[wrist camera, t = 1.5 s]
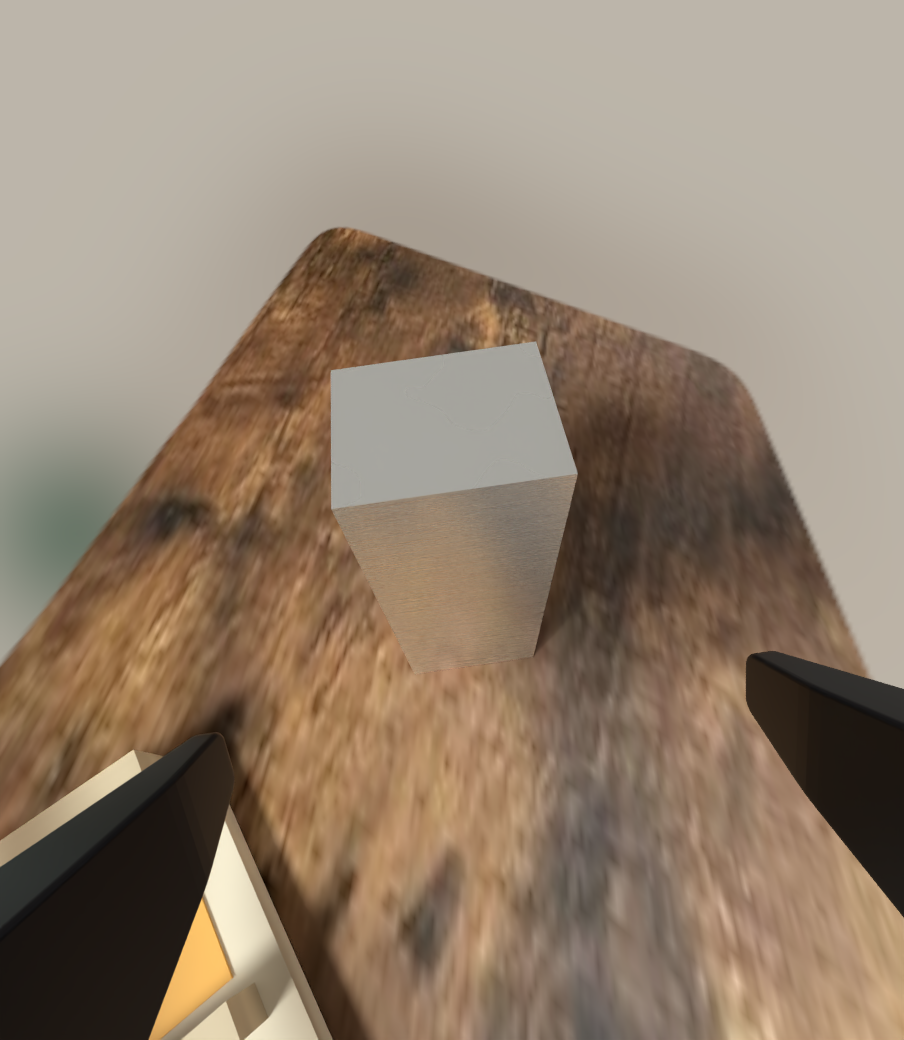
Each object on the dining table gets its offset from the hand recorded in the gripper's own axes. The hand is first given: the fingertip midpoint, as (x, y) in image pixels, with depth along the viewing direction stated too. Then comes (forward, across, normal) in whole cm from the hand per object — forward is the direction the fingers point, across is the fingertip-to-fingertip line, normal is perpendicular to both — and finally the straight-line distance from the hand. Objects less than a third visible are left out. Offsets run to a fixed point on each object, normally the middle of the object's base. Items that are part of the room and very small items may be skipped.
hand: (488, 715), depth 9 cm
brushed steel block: (+13, 0, +4) cm, 14 cm away
